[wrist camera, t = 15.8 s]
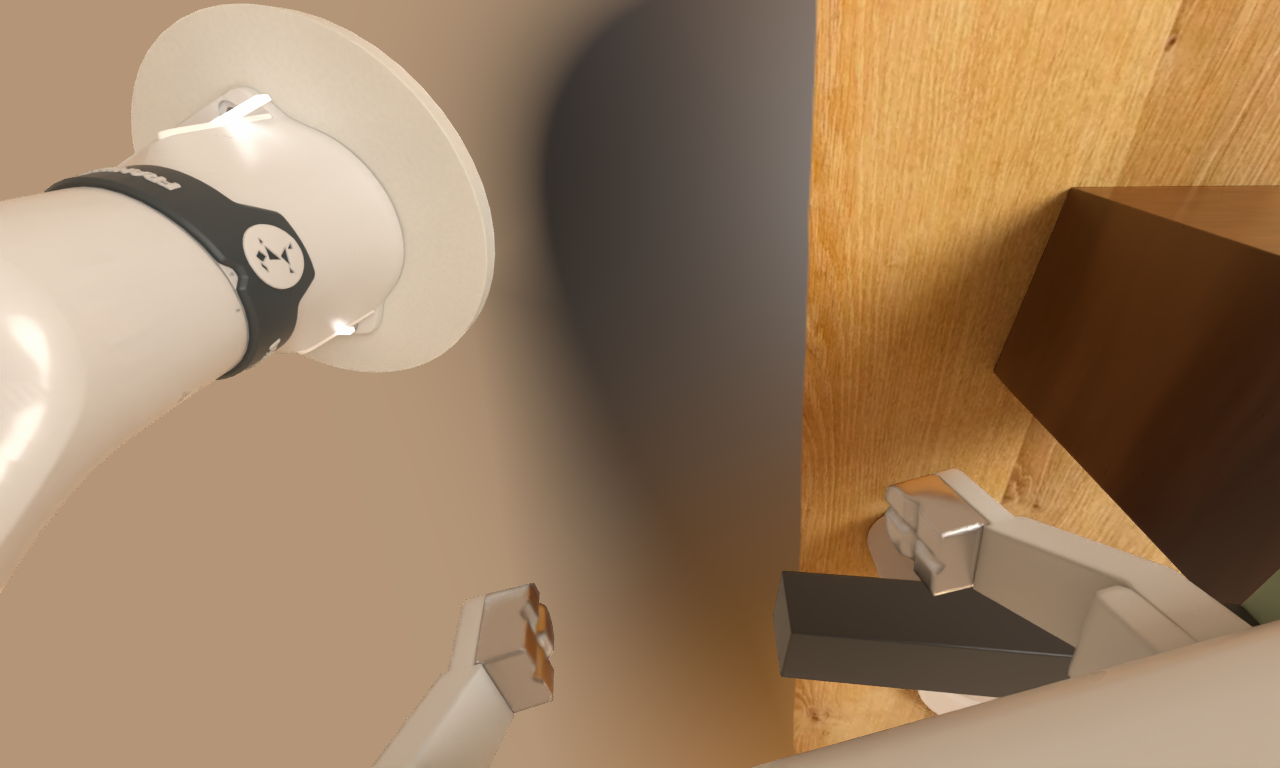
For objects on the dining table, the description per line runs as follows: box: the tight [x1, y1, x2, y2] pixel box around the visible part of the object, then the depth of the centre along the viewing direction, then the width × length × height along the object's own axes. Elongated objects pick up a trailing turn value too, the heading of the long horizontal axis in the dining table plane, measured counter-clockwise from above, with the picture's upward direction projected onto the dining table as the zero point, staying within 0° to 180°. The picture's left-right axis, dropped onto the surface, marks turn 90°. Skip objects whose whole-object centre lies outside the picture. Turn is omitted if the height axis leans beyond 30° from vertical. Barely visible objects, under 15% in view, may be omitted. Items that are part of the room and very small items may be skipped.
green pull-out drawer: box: [773, 569, 1280, 698], centre depth 14 cm, size 22×10×2 cm, turn 92°
